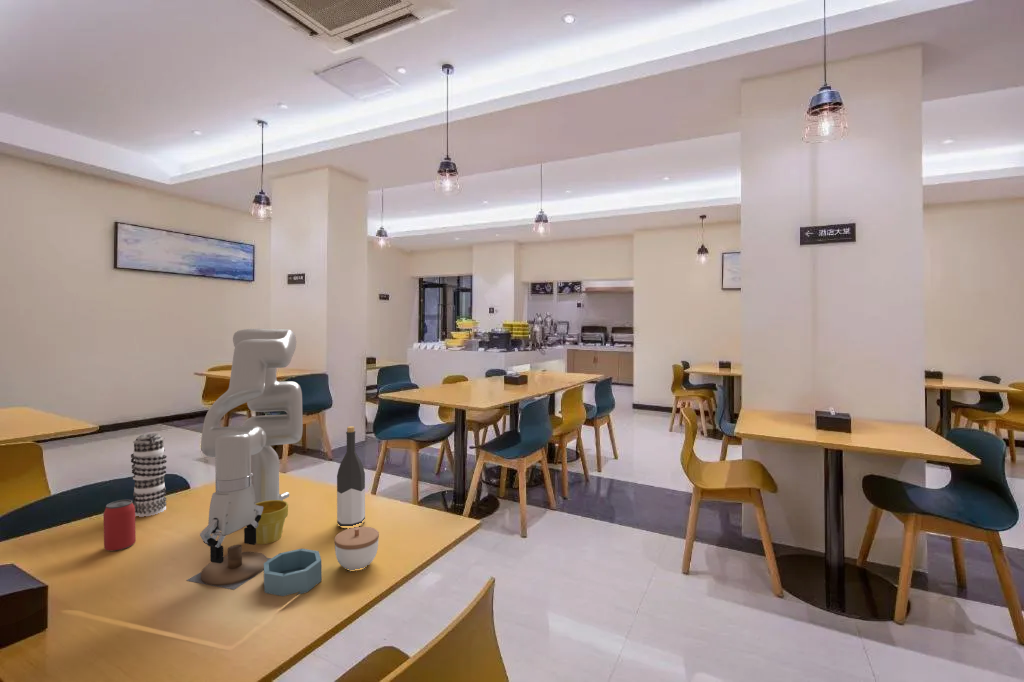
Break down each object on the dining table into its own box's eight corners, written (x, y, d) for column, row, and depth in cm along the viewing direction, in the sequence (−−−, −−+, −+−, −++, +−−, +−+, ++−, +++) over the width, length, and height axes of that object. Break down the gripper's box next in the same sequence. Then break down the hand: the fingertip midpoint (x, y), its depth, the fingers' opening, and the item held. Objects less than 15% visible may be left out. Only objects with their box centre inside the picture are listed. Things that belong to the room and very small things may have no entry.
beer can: (117, 553, 123) (116, 508, 122) (97, 550, 124) (96, 506, 124) (141, 542, 129) (141, 499, 129) (122, 539, 130) (121, 497, 130)
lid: (235, 552, 122) (235, 531, 122) (279, 559, 119) (279, 538, 119) (186, 580, 109) (185, 557, 109) (234, 589, 105) (233, 566, 105)
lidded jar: (387, 558, 121) (387, 523, 120) (361, 580, 111) (361, 541, 110) (353, 552, 124) (353, 517, 124) (325, 572, 114) (324, 534, 114)
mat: (235, 554, 122) (235, 552, 122) (279, 561, 119) (279, 559, 119) (186, 582, 109) (186, 580, 109) (234, 592, 105) (234, 589, 105)
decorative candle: (128, 512, 149) (127, 435, 149) (163, 503, 156) (162, 430, 156) (135, 520, 143) (133, 440, 143) (171, 511, 151) (169, 435, 150)
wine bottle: (364, 516, 147) (364, 423, 146) (365, 527, 140) (365, 428, 139) (337, 520, 144) (336, 425, 143) (337, 531, 137) (336, 430, 136)
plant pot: (296, 536, 133) (296, 503, 133) (264, 552, 124) (263, 516, 123) (271, 529, 138) (271, 497, 137) (238, 544, 128) (238, 509, 128)
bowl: (290, 566, 117) (289, 546, 117) (331, 573, 114) (330, 553, 114) (251, 592, 105) (251, 570, 105) (296, 601, 102) (296, 578, 102)
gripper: (249, 472, 122) (250, 536, 123) (188, 493, 106) (189, 567, 106) (273, 474, 120) (273, 539, 121) (214, 496, 104) (215, 572, 104)
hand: (234, 552), depth 113 cm, fingers open, 9 cm apart
